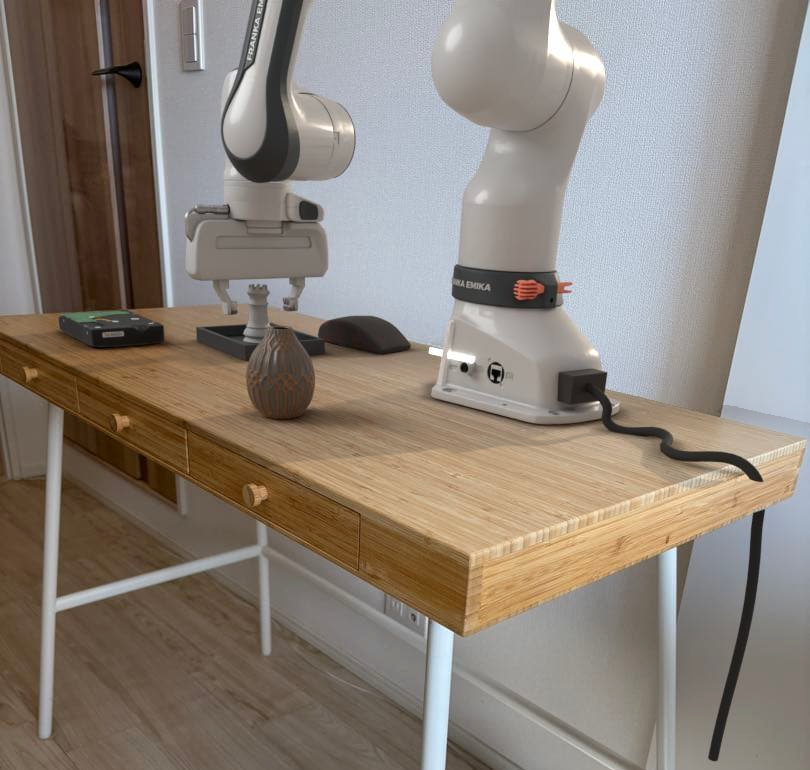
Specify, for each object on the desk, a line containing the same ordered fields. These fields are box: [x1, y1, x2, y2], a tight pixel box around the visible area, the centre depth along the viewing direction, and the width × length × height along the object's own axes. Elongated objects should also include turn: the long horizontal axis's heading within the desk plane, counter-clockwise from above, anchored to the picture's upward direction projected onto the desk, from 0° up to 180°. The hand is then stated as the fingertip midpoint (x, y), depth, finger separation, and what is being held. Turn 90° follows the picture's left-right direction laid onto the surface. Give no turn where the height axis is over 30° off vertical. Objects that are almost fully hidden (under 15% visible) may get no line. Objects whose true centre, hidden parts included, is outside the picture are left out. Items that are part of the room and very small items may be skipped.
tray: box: [195, 322, 326, 362], centre depth 117 cm, size 15×12×2 cm
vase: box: [245, 325, 316, 420], centre depth 84 cm, size 7×7×9 cm
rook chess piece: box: [243, 283, 271, 344], centre depth 116 cm, size 4×4×8 cm
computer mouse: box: [317, 315, 412, 355], centre depth 123 cm, size 8×14×4 cm, turn 49°
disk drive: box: [57, 309, 166, 348], centre depth 118 cm, size 10×3×15 cm
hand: (260, 312), depth 116 cm, fingers open, 8 cm apart
